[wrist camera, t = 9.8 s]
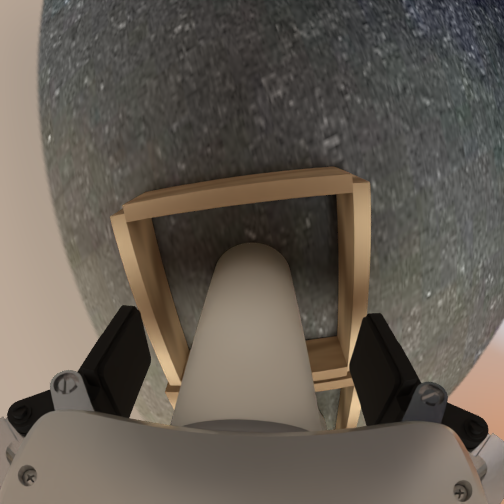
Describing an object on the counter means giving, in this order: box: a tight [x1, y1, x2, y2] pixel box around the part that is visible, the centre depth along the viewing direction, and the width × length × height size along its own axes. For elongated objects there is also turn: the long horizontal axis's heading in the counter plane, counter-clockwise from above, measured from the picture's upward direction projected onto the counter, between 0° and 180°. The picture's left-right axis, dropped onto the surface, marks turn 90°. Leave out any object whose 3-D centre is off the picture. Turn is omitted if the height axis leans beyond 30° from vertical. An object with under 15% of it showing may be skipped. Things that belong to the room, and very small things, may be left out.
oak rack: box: [110, 166, 371, 430], centre depth 18 cm, size 25×13×3 cm, turn 8°
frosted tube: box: [170, 243, 322, 433], centre depth 11 cm, size 5×5×12 cm
